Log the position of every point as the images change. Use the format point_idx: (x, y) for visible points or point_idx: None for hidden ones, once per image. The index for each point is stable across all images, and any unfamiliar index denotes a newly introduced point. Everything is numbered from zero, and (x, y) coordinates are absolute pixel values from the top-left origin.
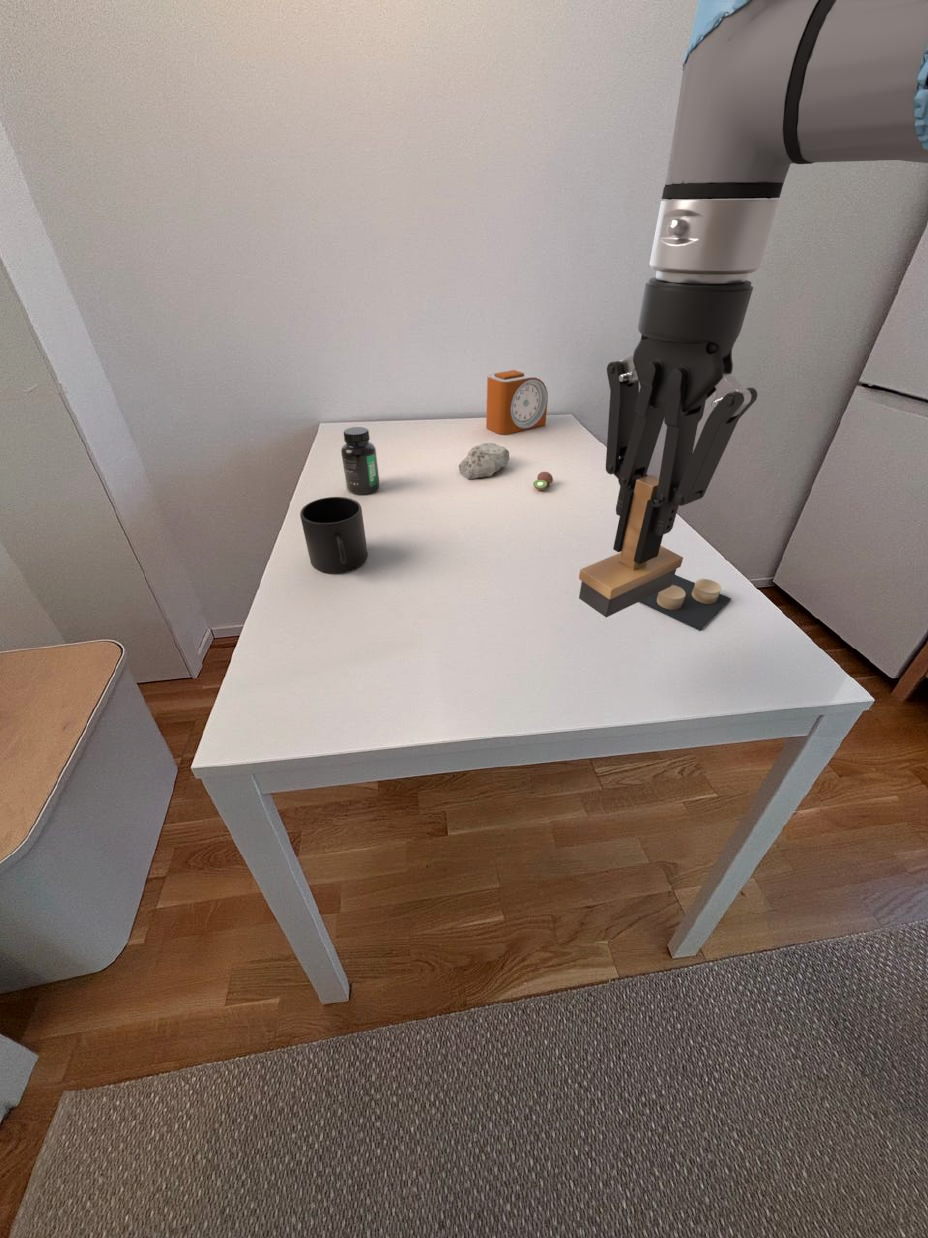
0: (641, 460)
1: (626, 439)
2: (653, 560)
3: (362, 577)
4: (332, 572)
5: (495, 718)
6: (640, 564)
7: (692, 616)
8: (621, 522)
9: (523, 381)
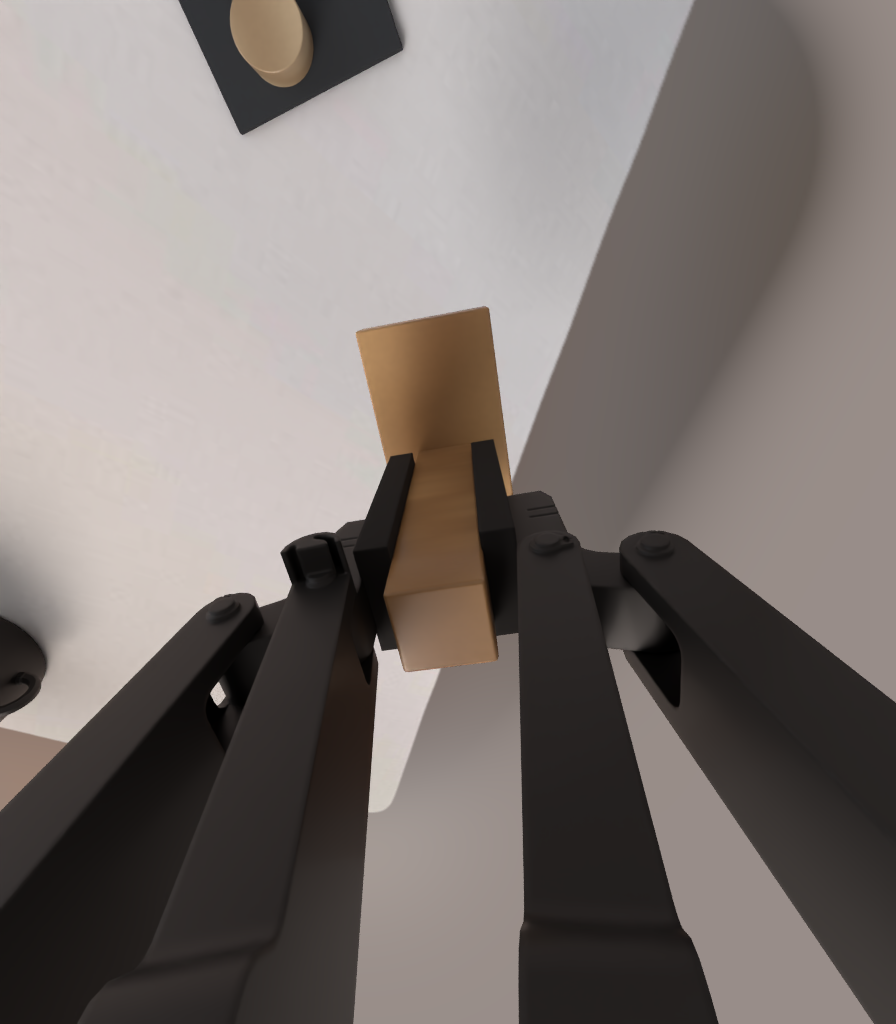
0: (358, 702)
1: (191, 769)
2: (462, 410)
3: (61, 634)
4: (44, 673)
5: None
6: None
7: (353, 25)
8: None
9: None
